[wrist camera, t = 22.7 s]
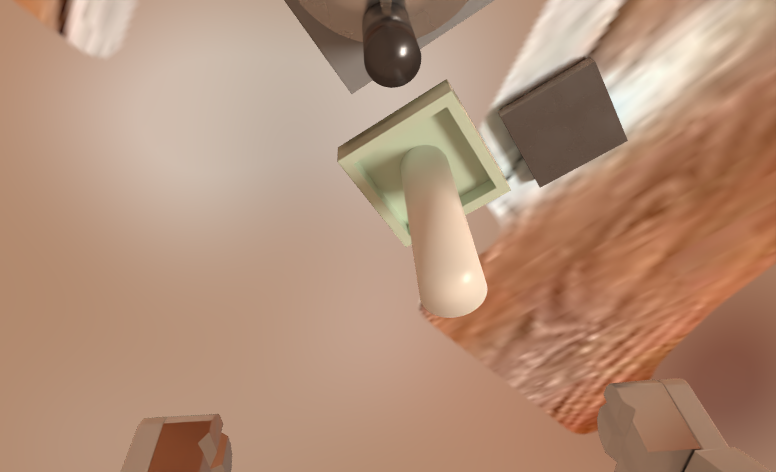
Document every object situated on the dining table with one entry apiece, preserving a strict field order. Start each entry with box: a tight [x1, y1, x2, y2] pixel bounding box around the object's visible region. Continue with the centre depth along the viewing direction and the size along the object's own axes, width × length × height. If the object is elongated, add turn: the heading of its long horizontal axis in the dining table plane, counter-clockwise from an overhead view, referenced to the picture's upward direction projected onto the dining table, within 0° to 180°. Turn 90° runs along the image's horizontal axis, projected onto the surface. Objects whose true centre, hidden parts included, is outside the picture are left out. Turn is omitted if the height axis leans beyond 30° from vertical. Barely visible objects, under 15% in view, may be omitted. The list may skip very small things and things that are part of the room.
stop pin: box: [400, 145, 487, 318], centre depth 34 cm, size 4×4×14 cm
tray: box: [338, 80, 511, 247], centre depth 40 cm, size 9×9×2 cm
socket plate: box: [498, 57, 628, 187], centre depth 39 cm, size 7×7×1 cm
